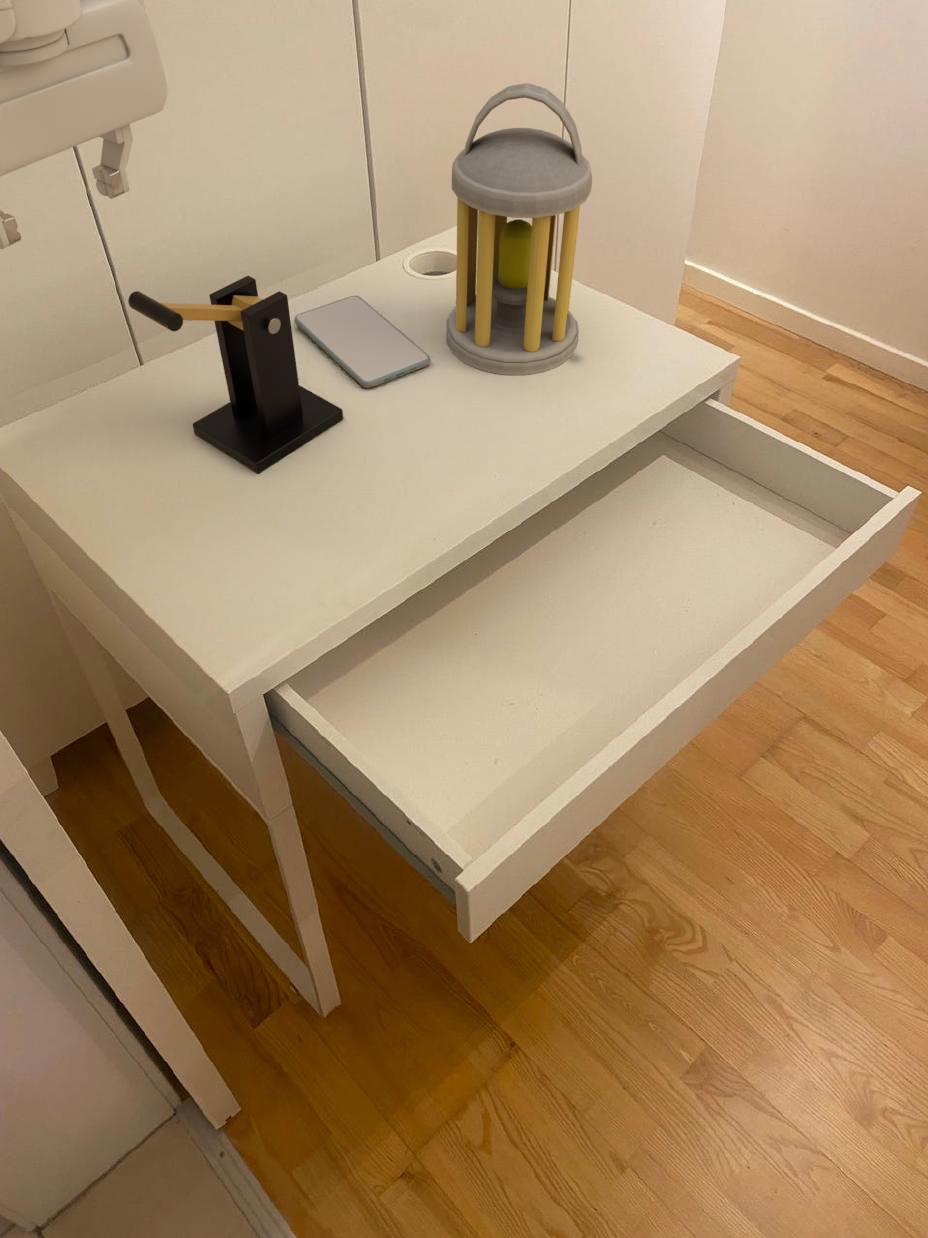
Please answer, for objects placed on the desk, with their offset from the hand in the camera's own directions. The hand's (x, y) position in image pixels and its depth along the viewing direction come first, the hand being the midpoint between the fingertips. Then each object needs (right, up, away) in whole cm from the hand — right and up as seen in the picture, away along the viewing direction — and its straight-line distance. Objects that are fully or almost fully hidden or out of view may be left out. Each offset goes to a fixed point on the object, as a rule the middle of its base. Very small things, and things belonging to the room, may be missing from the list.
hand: (62, 217), depth 66 cm
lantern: (+33, +2, +37) cm, 50 cm away
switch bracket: (+9, -9, +26) cm, 29 cm away
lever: (+6, -3, +14) cm, 15 cm away
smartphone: (+17, +1, +35) cm, 39 cm away
